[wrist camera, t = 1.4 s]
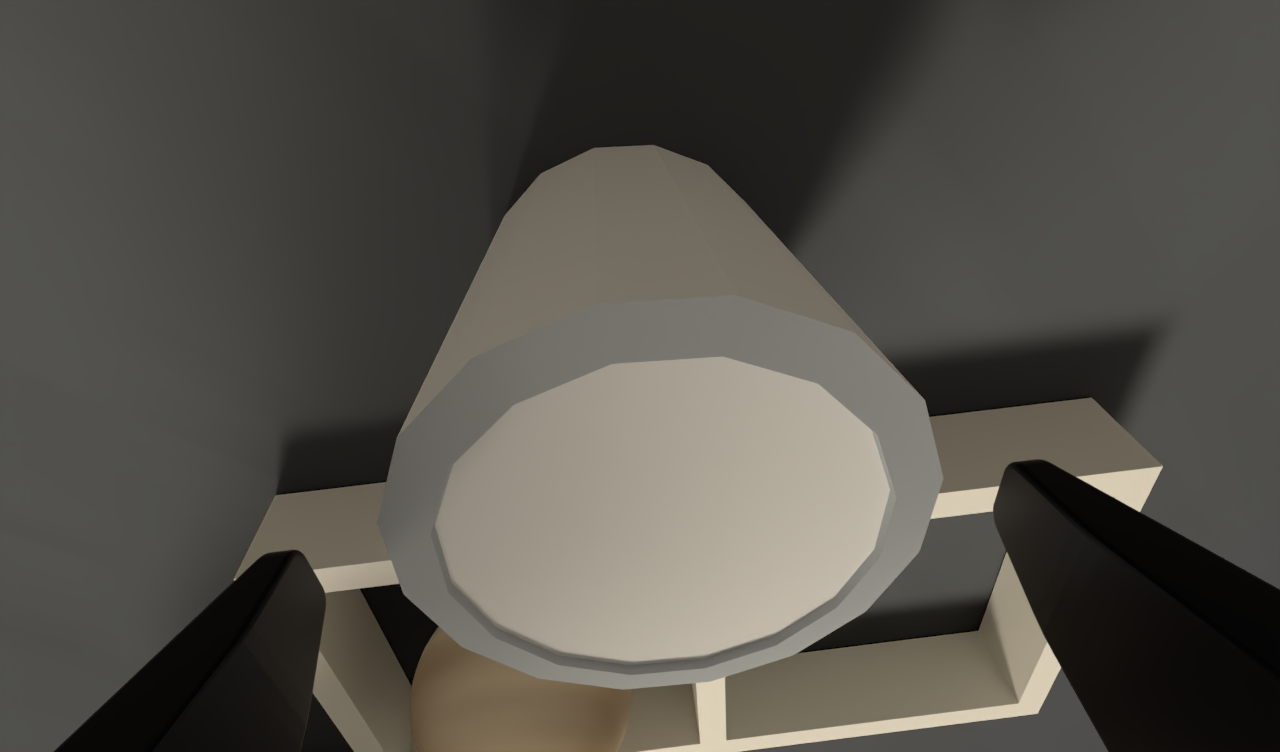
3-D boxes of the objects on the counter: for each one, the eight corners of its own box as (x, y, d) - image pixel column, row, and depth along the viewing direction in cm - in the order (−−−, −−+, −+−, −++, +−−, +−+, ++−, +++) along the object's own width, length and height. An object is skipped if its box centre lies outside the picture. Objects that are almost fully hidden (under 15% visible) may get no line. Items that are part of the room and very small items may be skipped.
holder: (996, 641, 23) (1037, 713, 21) (402, 715, 23) (385, 796, 21) (1091, 397, 17) (1163, 466, 15) (275, 495, 16) (233, 579, 14)
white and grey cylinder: (847, 306, 15) (1020, 564, 9) (597, 455, 17) (609, 745, 11) (675, 21, 11) (782, 151, 5) (384, 252, 13) (239, 523, 7)
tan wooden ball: (633, 643, 21) (649, 845, 17) (457, 665, 21) (426, 874, 17) (614, 524, 18) (627, 734, 14) (406, 549, 18) (350, 770, 13)
